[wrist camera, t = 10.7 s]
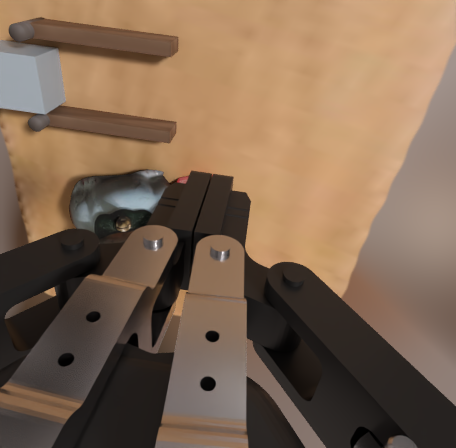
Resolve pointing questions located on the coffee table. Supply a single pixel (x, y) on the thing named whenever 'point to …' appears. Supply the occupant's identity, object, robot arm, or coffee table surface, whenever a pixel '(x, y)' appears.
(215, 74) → the coffee table surface
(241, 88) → the coffee table surface
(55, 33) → the chute
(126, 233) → the lucky cat figurine
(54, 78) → the block
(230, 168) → the coffee table surface
